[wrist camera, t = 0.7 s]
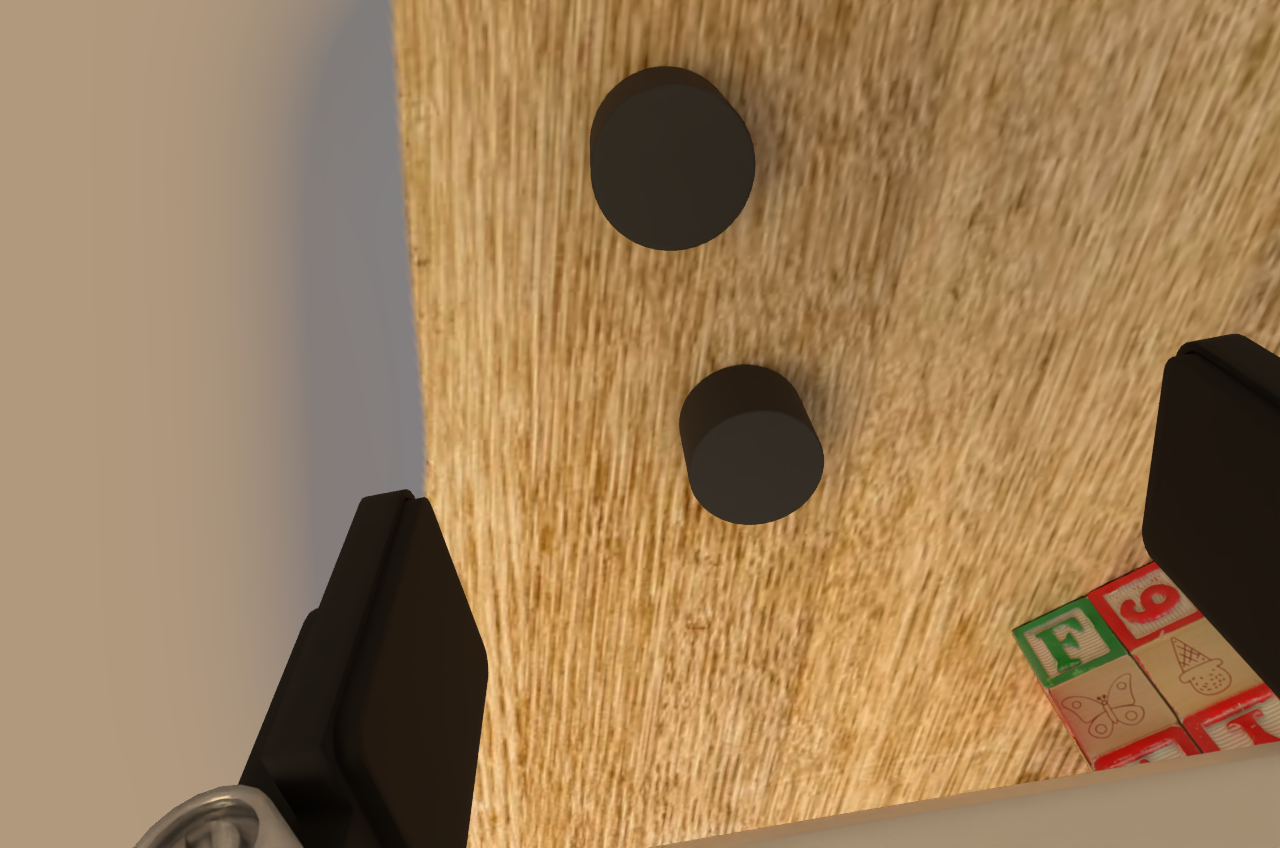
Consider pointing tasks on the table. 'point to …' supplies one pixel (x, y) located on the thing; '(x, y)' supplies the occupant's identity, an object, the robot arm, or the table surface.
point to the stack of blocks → (1146, 676)
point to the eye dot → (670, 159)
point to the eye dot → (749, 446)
